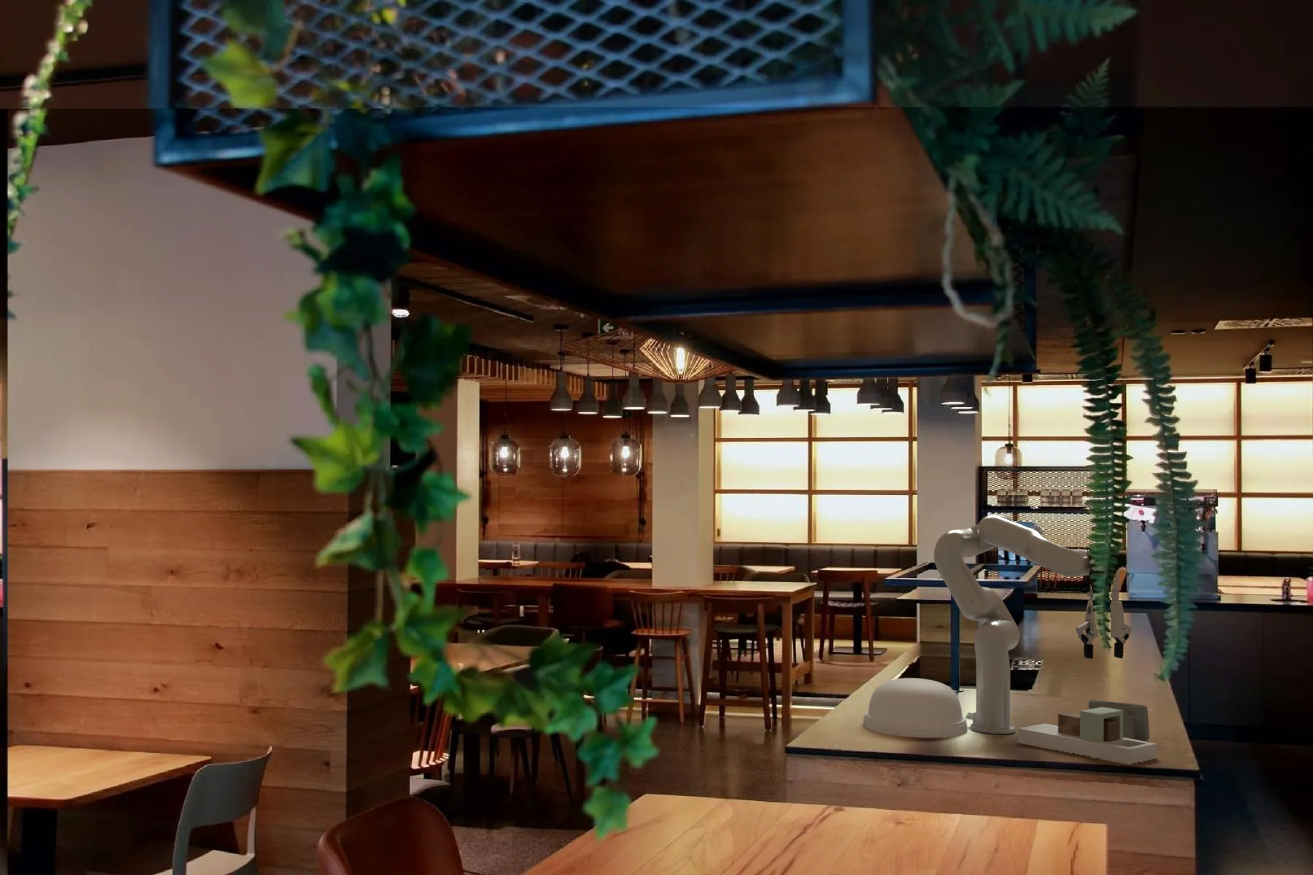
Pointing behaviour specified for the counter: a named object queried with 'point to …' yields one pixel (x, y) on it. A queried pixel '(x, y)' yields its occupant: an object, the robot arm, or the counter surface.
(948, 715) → the dome cover
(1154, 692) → the counter surface
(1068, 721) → the walnut bar
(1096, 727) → the tunnel
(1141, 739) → the digital clock
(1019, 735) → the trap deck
